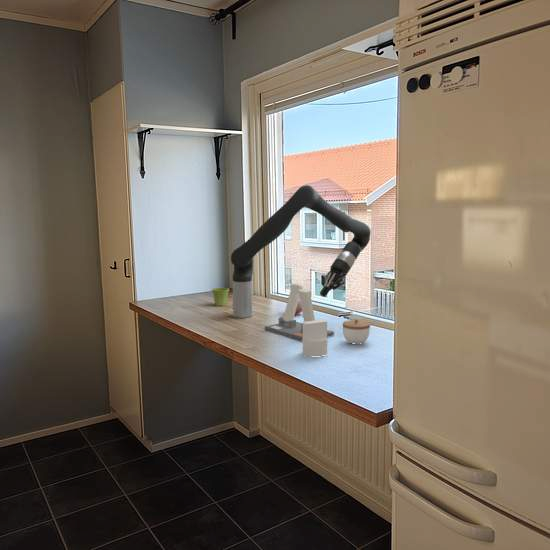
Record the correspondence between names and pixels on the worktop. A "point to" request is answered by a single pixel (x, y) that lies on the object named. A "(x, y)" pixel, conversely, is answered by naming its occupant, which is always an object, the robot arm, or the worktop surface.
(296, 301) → the lever unmarked
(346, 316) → the worktop surface
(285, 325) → the switch base
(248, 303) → the robot arm
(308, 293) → the lever marked
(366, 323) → the lidded jar
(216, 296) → the plant pot
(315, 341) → the white rectangular block
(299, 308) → the decorative fruit
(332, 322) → the worktop surface
